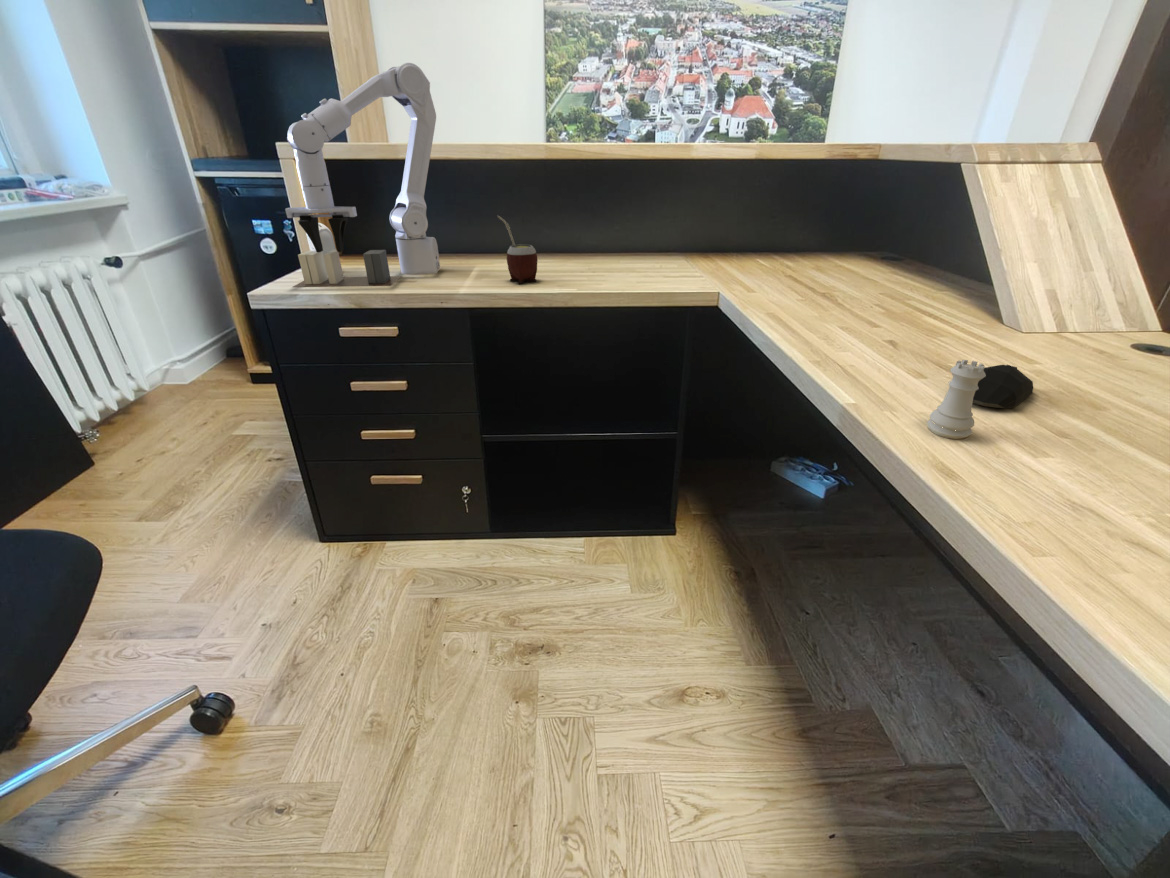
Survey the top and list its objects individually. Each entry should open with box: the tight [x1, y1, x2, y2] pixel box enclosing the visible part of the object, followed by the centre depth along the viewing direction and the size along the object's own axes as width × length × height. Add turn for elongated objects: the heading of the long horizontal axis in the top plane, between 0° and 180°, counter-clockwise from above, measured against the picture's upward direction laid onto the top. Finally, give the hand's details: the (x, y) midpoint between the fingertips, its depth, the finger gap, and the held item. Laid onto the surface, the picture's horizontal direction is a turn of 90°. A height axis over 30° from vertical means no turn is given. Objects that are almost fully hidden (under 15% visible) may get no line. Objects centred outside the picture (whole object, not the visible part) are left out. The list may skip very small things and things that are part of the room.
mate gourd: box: [496, 215, 538, 285], centre depth 127 cm, size 8×8×15 cm
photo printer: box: [305, 222, 337, 277], centre depth 135 cm, size 10×4×12 cm, turn 39°
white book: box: [323, 249, 345, 284], centre depth 127 cm, size 2×5×6 cm, turn 2°
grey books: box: [362, 249, 391, 283], centre depth 127 cm, size 4×5×6 cm
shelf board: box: [292, 275, 403, 288], centre depth 129 cm, size 22×10×1 cm, turn 92°
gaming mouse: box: [972, 364, 1034, 409], centre depth 71 cm, size 6×15×4 cm, turn 126°
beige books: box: [297, 250, 328, 284], centre depth 127 cm, size 3×5×6 cm
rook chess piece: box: [926, 359, 986, 440], centre depth 60 cm, size 4×4×8 cm
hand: (330, 251), depth 125 cm, fingers open, 4 cm apart
